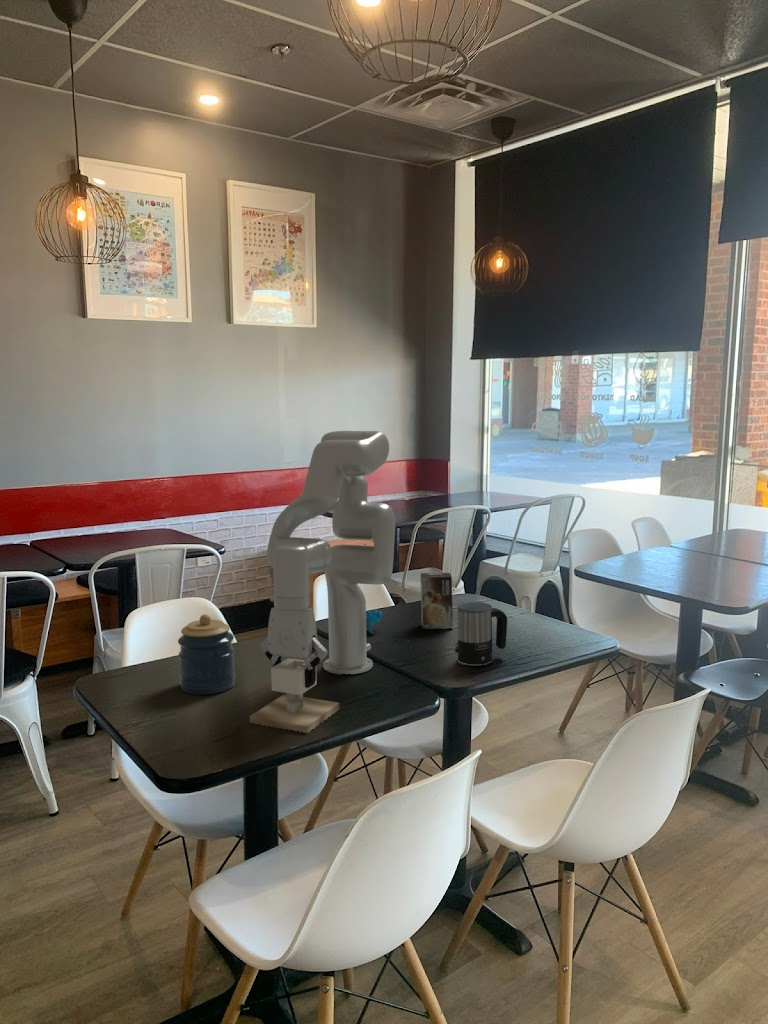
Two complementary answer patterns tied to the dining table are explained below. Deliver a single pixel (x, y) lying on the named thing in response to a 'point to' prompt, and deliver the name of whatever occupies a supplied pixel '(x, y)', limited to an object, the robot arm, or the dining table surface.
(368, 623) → the blue green toy
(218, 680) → the canister
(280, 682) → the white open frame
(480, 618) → the milk frother
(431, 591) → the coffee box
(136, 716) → the dining table surface
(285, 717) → the base
